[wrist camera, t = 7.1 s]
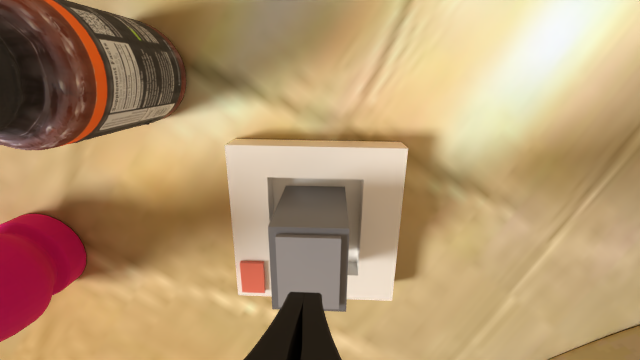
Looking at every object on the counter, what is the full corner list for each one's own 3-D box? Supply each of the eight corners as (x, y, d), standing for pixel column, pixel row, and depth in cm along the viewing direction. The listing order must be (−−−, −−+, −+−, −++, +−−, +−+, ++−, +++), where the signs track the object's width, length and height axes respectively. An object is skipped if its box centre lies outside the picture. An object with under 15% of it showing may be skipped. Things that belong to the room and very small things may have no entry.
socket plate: (401, 141, 20) (409, 149, 18) (387, 282, 23) (392, 303, 21) (234, 138, 20) (222, 146, 18) (246, 277, 24) (237, 297, 21)
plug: (344, 186, 20) (349, 231, 14) (342, 251, 22) (346, 315, 16) (285, 185, 21) (266, 229, 15) (288, 249, 22) (271, 312, 16)
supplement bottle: (93, 105, 20) (-187, 137, 9) (100, 7, 18) (-244, -97, 7) (182, 133, 20) (12, 196, 10) (198, 40, 18) (8, -12, 8)
